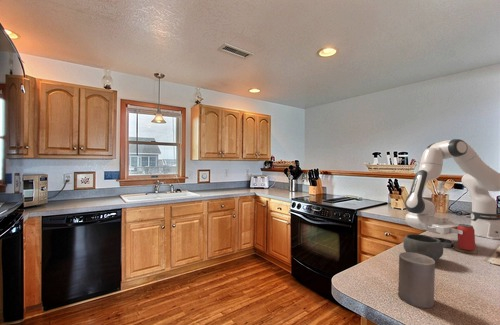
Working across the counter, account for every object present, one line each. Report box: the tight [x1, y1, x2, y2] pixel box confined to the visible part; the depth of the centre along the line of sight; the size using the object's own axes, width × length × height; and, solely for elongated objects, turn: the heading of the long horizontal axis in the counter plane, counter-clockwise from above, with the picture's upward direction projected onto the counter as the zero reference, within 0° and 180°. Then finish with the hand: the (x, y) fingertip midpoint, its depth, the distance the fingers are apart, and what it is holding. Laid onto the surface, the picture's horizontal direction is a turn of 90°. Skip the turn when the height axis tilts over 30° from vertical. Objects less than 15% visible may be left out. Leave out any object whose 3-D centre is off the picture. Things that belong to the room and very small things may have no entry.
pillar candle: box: [397, 251, 436, 309], centre depth 78 cm, size 10×10×15 cm
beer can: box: [457, 223, 476, 251], centre depth 123 cm, size 7×7×12 cm
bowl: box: [402, 233, 444, 262], centre depth 111 cm, size 15×15×10 cm
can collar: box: [432, 236, 455, 249], centre depth 131 cm, size 10×10×2 cm
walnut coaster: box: [452, 245, 478, 255], centre depth 123 cm, size 9×9×1 cm
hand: (467, 231), depth 122 cm, fingers closed on beer can, 6 cm apart
